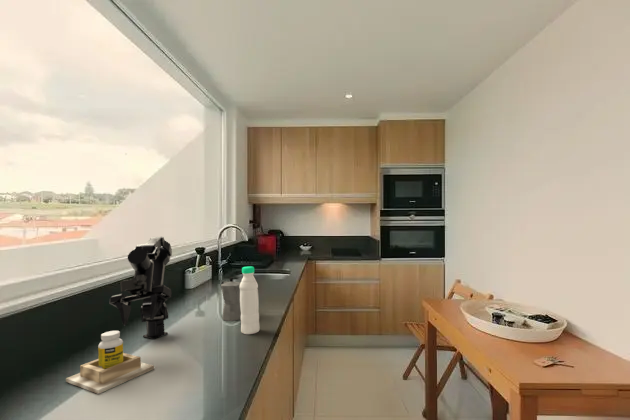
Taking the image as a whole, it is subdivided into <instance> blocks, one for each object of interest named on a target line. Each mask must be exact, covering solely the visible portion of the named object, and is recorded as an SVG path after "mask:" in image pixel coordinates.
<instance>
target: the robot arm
mask: <svg viewBox="0 0 630 420" xmlns="http://www.w3.org/2000/svg"><path fill="white" fill-rule="evenodd" d="M172 254H173V251H172V246H171V244H170V242H168V241H167V240H165V238H164V236H152V237H150V238H149V240H148V241H147V242H145V243H140V244H139V243H138V244H136V246H135V247H134V248H133V249H132V250H131V251H130V252H129V253H128V255H127V261H128V262H129V264H130V266H131V267H132V269H133V270H134V275H133V277H131V278H130V279H126V280H122V281H120V282H119V283H120V292H127V294H130V295H126V294H124V293H119V294H114V295H112V296H111V297H110V298H109V305H111V306H113V307H115V308H117V310H118V311H119V314H120V318H121V323H122V325H123V326H127V325H128V322H129V318H130V313H131V310H132V306H131V305H132V302H135V301H139V300H140V301H141V300H143V302H142V305H141V306H140V318H141V319H140V320H141V323H146V324H145V325H146V334H143V335H142V338H147V339H150V340H155V339H158V338H160V337H163V336H166V335H168V332H167V331H165V320H167V319H169V310H168V307H167V304H166V303H165V302H166V301H168V299H170V298H172V289H171V288H169V287H167V286H166V285H164V278H165V277H164V276H165V268H166V266H167V265H168V263H169V262H170V260H171V257H172Z"/></svg>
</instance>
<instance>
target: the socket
mask: <svg viewBox="0 0 630 420" xmlns="http://www.w3.org/2000/svg"><path fill="white" fill-rule="evenodd" d="M141 359H142V358H141V357H140V356H137V355H133V354H129V353H125V352H123V362H122V363H120V364H117V365H114V366H112V367H109V368H107V369H102V368H99V359H98V358H97V359H94V360H91V361H89V362H86V363H84V364H80V366H79V371H80V372H78V373H76V374H74V375H71V376H69V377H66V378H65V382H66V383H69V384H70V385H74V386H76V387H79V388H81V389H84V390H85V391H89V392H92V393H95V394H97V395H99V394H101V393H104V392H106V391H108V390H111V389H113V388H114V387H118V386H119V385H121V384H124V383H125V382H129V381H131V380H132V379H136V378H137V377H139V376H142V375H143V374H147V373H149V372H150V371H153V370H154V369H155V365H153V364H150V363H145V362H142V360H141Z"/></svg>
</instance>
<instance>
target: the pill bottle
mask: <svg viewBox="0 0 630 420" xmlns="http://www.w3.org/2000/svg"><path fill="white" fill-rule="evenodd" d="M120 337H121V331H119V330H110V331H105V332H104V333H101V334H100V339H101V341H100V342H99V344H98V346H97V347H98V348H97V351H98V358H97V359H99V368H102V369H107V368H109V367H112V366H114V365H117V364H120V363H122V362H123V353H124V341H123V339H122V338H120Z"/></svg>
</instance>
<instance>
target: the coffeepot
mask: <svg viewBox="0 0 630 420" xmlns="http://www.w3.org/2000/svg"><path fill="white" fill-rule="evenodd" d="M241 282H242V281H240V282H239V281H234V277H232V276H230V277H229V281H225V280H222V282H221V284H220V288H221V289H220V290H221V292H222V299H223V308H222V316H221V317H222V320H223V321H226V322H233V321H238V320H241V309H240V288H239V286H240V283H241Z"/></svg>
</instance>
